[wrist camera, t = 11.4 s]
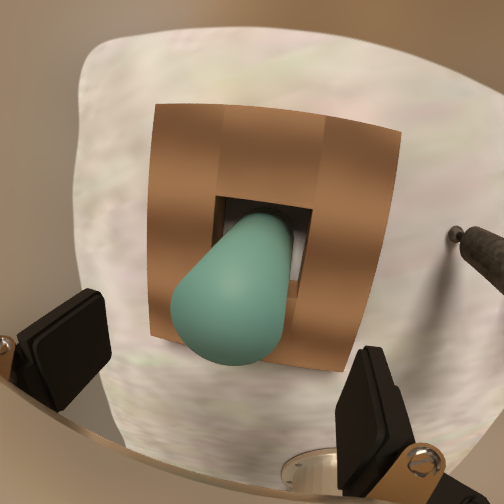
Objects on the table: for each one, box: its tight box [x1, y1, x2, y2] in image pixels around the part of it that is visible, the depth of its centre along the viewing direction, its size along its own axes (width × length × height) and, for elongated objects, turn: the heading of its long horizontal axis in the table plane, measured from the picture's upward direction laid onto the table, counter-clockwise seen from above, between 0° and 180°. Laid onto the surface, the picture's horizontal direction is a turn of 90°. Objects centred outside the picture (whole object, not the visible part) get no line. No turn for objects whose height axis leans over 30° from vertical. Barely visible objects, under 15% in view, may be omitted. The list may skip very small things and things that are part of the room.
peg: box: [170, 208, 294, 366], centre depth 17 cm, size 4×4×12 cm
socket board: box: [147, 104, 402, 372], centre depth 21 cm, size 18×16×3 cm
